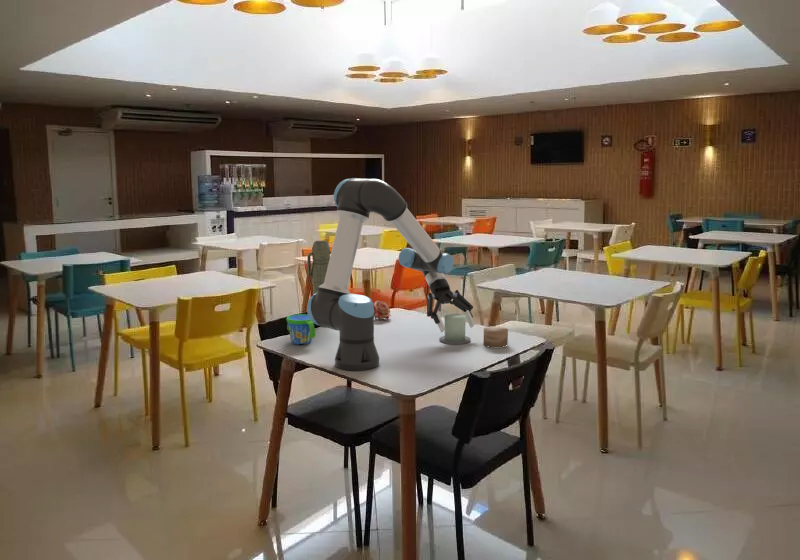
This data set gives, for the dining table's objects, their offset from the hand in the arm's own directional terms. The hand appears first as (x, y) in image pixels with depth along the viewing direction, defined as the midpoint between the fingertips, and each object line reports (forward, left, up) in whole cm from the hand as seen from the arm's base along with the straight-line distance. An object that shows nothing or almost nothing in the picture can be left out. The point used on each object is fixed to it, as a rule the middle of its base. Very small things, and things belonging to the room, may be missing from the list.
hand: (458, 328), depth 250 cm
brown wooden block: (0, -14, -5) cm, 15 cm away
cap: (+2, +2, -5) cm, 5 cm away
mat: (+2, +2, -5) cm, 6 cm away
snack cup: (-17, +58, -6) cm, 60 cm away
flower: (+28, +40, -6) cm, 48 cm away
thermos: (+18, +64, -6) cm, 66 cm away
